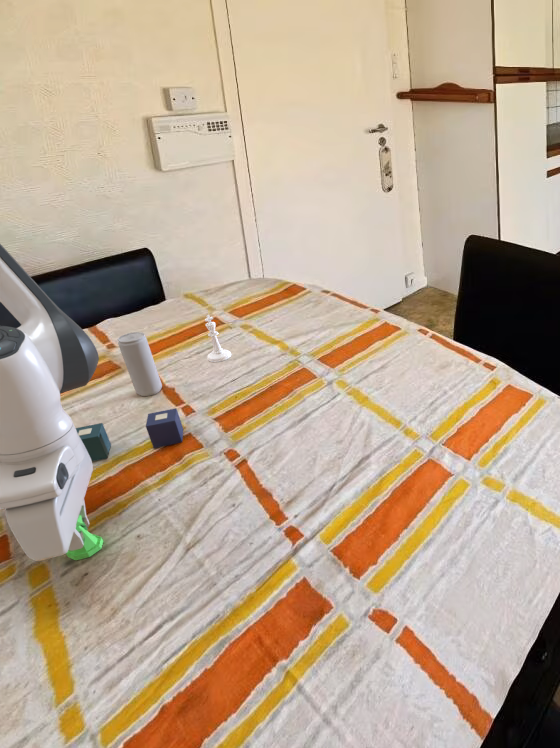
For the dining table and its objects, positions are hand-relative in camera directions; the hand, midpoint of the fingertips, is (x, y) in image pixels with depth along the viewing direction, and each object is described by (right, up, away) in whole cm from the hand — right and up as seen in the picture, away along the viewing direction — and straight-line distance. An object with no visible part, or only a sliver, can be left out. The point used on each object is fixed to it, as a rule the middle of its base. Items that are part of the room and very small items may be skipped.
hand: (80, 538), depth 84 cm
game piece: (0, -2, +1) cm, 2 cm away
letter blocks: (-10, +9, +22) cm, 26 cm away
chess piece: (-6, +27, +54) cm, 61 cm away
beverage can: (-14, +19, +41) cm, 47 cm away
